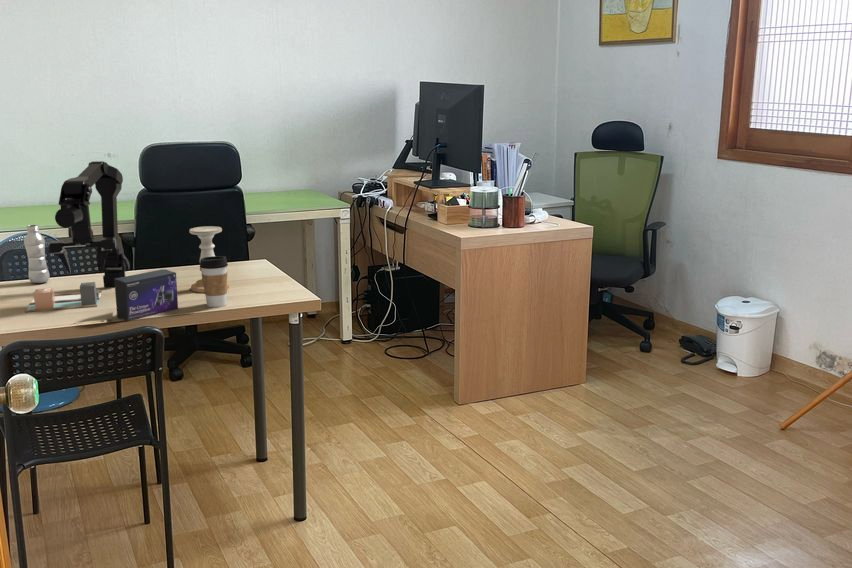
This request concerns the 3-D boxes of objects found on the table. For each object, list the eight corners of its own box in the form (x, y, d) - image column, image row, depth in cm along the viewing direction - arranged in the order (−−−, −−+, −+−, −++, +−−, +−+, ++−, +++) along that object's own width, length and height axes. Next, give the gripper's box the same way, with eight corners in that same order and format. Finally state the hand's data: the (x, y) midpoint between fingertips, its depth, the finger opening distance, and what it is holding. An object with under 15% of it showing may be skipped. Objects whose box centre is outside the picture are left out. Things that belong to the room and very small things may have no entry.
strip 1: (99, 302, 260) (97, 281, 258) (97, 308, 253) (95, 286, 252) (29, 308, 254) (26, 286, 253) (26, 314, 248) (23, 291, 246)
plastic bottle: (42, 285, 284) (35, 227, 279) (25, 284, 285) (17, 227, 280) (54, 280, 290) (47, 224, 285) (37, 280, 291) (29, 223, 286)
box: (128, 322, 240) (124, 281, 237) (116, 317, 244) (112, 278, 241) (179, 309, 252) (176, 271, 249) (167, 305, 257) (163, 268, 254)
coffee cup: (216, 309, 251) (212, 261, 247) (196, 306, 255) (192, 258, 252) (236, 303, 258) (233, 256, 254) (217, 299, 262) (213, 253, 259)
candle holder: (236, 287, 277) (232, 228, 272) (205, 295, 268) (200, 233, 263) (214, 282, 285) (210, 224, 280) (183, 289, 276) (178, 229, 271)
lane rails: (102, 295, 270) (101, 290, 269) (97, 310, 252) (96, 305, 251) (35, 300, 264) (34, 295, 264) (25, 316, 246) (24, 311, 246)
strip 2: (101, 295, 268) (100, 288, 268) (100, 301, 262) (99, 293, 261) (34, 301, 263) (33, 293, 262) (30, 306, 256) (29, 298, 256)
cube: (55, 303, 255) (53, 288, 254) (53, 308, 251) (51, 292, 249) (37, 305, 254) (35, 289, 253) (35, 309, 249) (33, 293, 248)
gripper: (114, 216, 260) (120, 264, 263) (50, 219, 254) (56, 269, 258) (112, 221, 249) (117, 272, 253) (45, 225, 244) (51, 277, 248)
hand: (86, 272), depth 253 cm, fingers open, 9 cm apart
